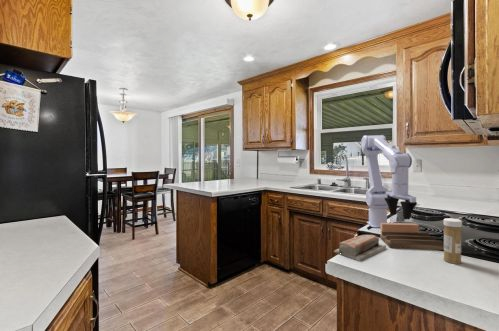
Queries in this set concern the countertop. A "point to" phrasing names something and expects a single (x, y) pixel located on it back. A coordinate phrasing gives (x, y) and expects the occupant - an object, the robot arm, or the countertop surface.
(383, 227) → the tile strip
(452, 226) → the sprinkles bottle
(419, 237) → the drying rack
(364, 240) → the packaged product
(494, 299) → the countertop surface
